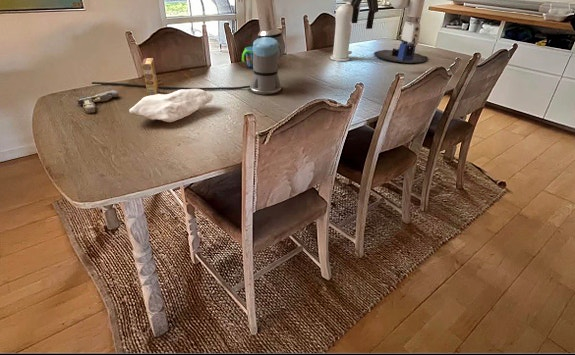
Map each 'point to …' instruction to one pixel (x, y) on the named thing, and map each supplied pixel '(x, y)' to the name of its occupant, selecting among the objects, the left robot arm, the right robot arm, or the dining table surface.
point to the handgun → (95, 100)
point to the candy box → (150, 76)
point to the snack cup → (248, 56)
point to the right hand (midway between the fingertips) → (406, 53)
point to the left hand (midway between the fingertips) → (361, 25)
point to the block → (405, 52)
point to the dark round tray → (393, 56)
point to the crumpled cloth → (171, 104)
